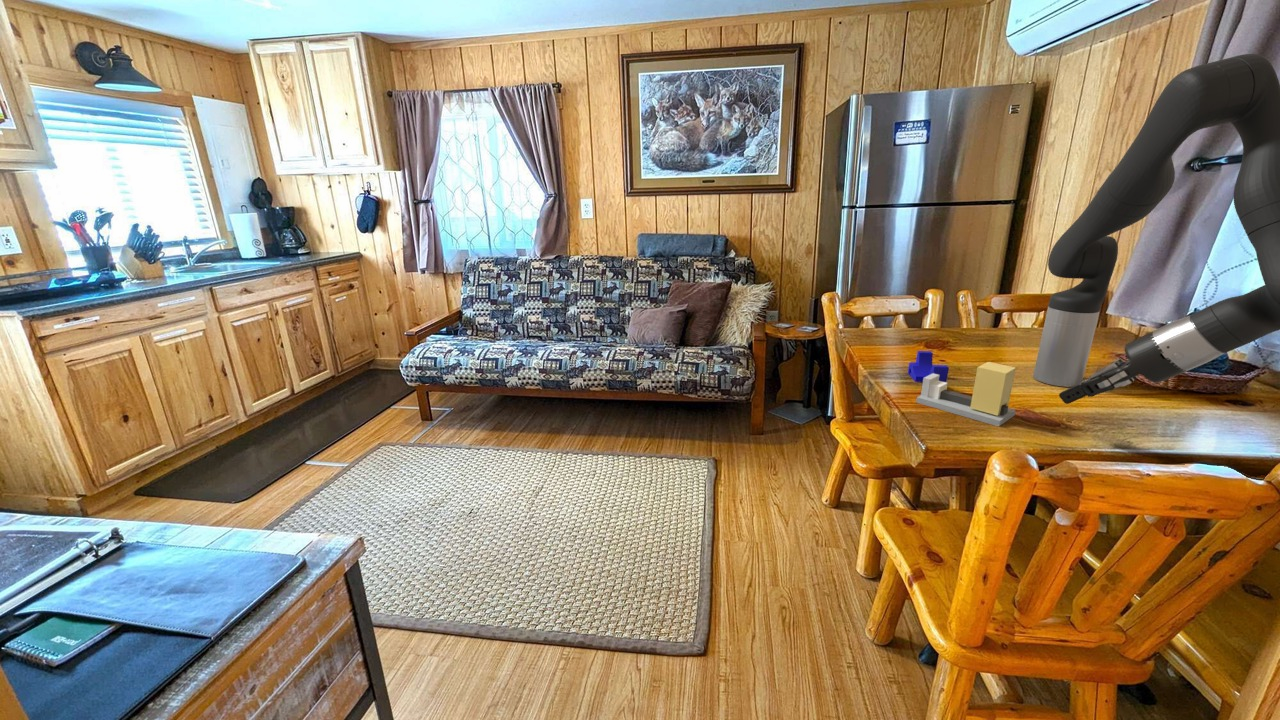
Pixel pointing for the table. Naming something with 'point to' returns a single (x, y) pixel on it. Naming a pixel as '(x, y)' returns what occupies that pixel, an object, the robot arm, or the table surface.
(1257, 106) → the robot arm
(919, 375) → the blue stepped block
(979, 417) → the comb board
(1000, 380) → the pale yellow block
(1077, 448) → the table surface
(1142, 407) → the table surface
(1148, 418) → the table surface
